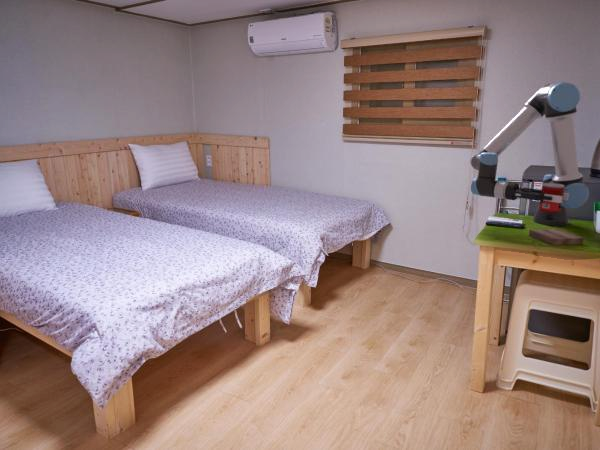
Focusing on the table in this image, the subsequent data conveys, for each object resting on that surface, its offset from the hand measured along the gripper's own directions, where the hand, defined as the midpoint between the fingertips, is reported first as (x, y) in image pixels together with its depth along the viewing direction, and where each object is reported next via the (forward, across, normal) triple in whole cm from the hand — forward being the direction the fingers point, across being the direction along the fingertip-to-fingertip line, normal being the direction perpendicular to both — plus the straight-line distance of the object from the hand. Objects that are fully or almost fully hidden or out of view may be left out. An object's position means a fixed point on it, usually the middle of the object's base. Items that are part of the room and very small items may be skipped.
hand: (564, 198), depth 185 cm
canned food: (-5, 0, -6) cm, 8 cm away
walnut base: (-2, -1, -18) cm, 18 cm away
